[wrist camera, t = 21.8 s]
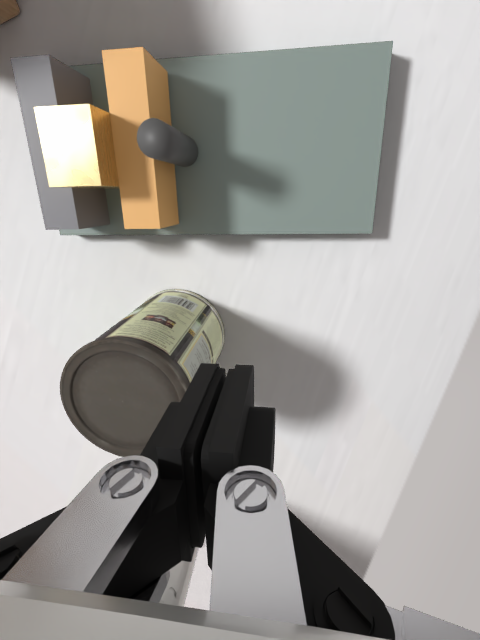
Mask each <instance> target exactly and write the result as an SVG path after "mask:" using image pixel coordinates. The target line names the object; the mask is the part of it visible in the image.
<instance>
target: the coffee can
mask: <svg viewBox="0 0 480 640" xmlns="http://www.w3.org/2000/svg"><path fill="white" fill-rule="evenodd" d="M223 345H224V327H223V323H222V321H221V318H220V316H219V314H218V313H217V311H216V310H215V308H214V307H213V306H212V305H211V304H210V303H209V302H208V301H207V300H206V299H204V298H203V297H202V296H199V295H197V294H195V293H193V292H190V291H186V290H181V289H170V290H164V291H161V292H159V293H156V294H155V295H153V296H152V297H150V298H149V299H148V300H147V301H146V302H145V303H143V304H142V305H141V306H140V307H138V308H137V309H136V310H134V311H133V312H132V313H130V314H129V315H128V316H126V317H125V318H124V319H122V320H121V321H120V322H118V323H117V324H116V325H114V326H113V327H111V328H110V329H109V330H108V331H106V332H105V333H104V334H102V335H101V336H100V337H98V338H97V339H96V340H95V341H93V342H90V343H88V344H87V345H85V346H83V347H82V348H80V349H79V350H78V351H76V352H75V353H74V354H73V355H72V356H71V357H70V359H69V360H68V362H67V363H66V365H65V367H64V369H63V372H62V376H61V381H60V394H61V400H62V403H63V406H64V409H65V411H66V413H67V415H68V417H69V419H70V420H71V422H72V423H73V425H74V426H75V427H76V428H77V430H78V431H79V432H80V433H81V434H82V435H83V436H84V437H85V438H87V439H88V440H89V441H90V442H92V443H93V444H95V445H96V446H98V447H99V448H101V449H103V450H105V451H107V452H110V453H112V454H115V455H118V456H122V457H126V456H133V455H136V456H140V454H141V452H142V451H143V449H144V447H145V446H146V444H147V442H148V440H149V439H150V437H151V435H152V433H153V432H154V430H155V428H156V427H157V425H158V423H159V421H160V420H161V418H162V416H163V415H164V413H165V411H166V409H167V408H168V406H169V404H170V403H171V402H180V401H181V400H182V398H183V396H184V394H185V392H186V390H187V388H188V386H189V385H190V383H191V381H192V379H193V377H194V375H195V373H196V371H197V370H198V368H199V366H200V364H201V363H211V364H215V363H216V361H217V358H218V357H219V355H220V353H221V351H222V348H223Z"/></svg>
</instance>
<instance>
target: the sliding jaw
mask: <svg viewBox="0 0 480 640" xmlns="http://www.w3.org/2000/svg"><path fill="white" fill-rule="evenodd" d="M102 58H103V65H104V73H105V81H106V88H107V96H108V104H109V112H110V119H111V127H112V135H113V143H114V150H115V158H116V166H117V174H118V181H119V189H120V197H121V204H122V212H123V220H124V228H125V229H161V228H165V227H169V226H173V225H177V224H179V216H178V203H177V190H176V177H175V165H179V166H182V167H188V166H191V165H192V164H194V163H195V161H196V160H197V157H198V147H197V144H196V142H195V141H194V140H193V139H192V138H191V137H189V136H187V135H185V134H184V133H182V132H180V131H179V130H177V129H175V128H174V127H172V125H171V112H170V99H169V86H168V73H167V71H166V70H165V69H164V68H163V67H162V66H161V65H160V64H159V63H158V62H157V61H156V60H155V59H154V58H153V57H152V56H151V55H150V54H149V53H148V52H147V51H146V50H145V49H144V48H143V47H135V48H123V49H111V50H102Z"/></svg>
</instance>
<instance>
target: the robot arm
mask: <svg viewBox="0 0 480 640" xmlns="http://www.w3.org/2000/svg"><path fill="white" fill-rule="evenodd" d="M274 444H275V408H268V407H254V366H253V365H236V366H235V369H229V371H228V374H227V376H226V375H225V369H222V368H220V367H219V364H211V363H201V364H200V366H199V368H198V370H197V371H196V373H195V375H194V377H193V379H192V381H191V383H190V385H189V386H188V388H187V390H186V392H185V394H184V396H183V398H182V400H181V401H180V402H171V403H170V404H169V406H168V408H167V409H166V411H165V413H164V415H163V416H162V418H161V420H160V421H159V423H158V425H157V427H156V428H155V430H154V432H153V433H152V435H151V437H150V439H149V440H148V442H147V444H146V446H145V447H144V449H143V451H142V452H141V454H140V456H136V455H133V456H126V457H122V458H119V459H116V460H114V461H112V462H110V463H109V464H107V465H105V466H104V467H103V468H102V469H101V470H100V471H99V472H98V473H97V474H96V475H95V476H94V477H93V478H92V479H91V481H90V482H89V483H88V484H87V485H86V486H85V487H84V488H83V489H82V491H81V492H80V493H79V494H78V495H77V496H76V497H75V498H74V499H73V501H72V502H71V503H70V504H69V505H68V506H67V507H65V508H63V509H61V510H59V511H57V512H55V513H52V514H50V515H48V516H46V517H44V518H42V519H40V520H38V521H36V522H34V523H32V524H30V525H28V526H26V527H24V528H22V529H20V530H18V531H15V532H13V533H11V534H9V535H7V536H5V537H3V538H1V539H0V640H480V634H479V633H476V632H473V631H471V630H468V629H465V628H463V627H460V626H458V625H455V624H452V623H449V622H447V621H444V620H441V619H439V618H436V617H433V616H430V615H428V614H425V613H422V612H420V611H417V610H414V609H412V608H409V607H406V606H404V607H403V612H402V611H399V610H396V609H394V608H391V607H388V606H386V605H385V604H384V602H383V601H382V600H381V599H380V598H379V596H378V595H377V594H376V593H375V592H374V591H373V590H372V589H371V588H370V587H369V586H368V585H367V584H366V583H365V582H364V581H363V580H362V579H361V578H360V577H359V576H358V575H357V574H356V573H355V572H354V571H353V570H352V569H350V568H349V567H348V566H347V565H346V564H345V563H344V562H343V561H342V560H341V559H340V558H339V557H338V556H337V555H336V554H335V553H334V552H333V551H332V550H331V549H329V548H328V547H327V546H326V545H325V544H324V543H323V542H322V541H321V540H320V539H319V538H318V537H317V536H316V535H315V534H314V533H313V532H312V531H311V530H310V529H309V528H307V527H306V526H305V525H304V524H303V523H302V522H301V521H300V520H299V519H298V518H297V517H296V516H295V515H294V514H293V513H292V512H291V511H290V510H289V509H288V508H287V503H286V497H285V491H284V487H283V485H282V482H281V480H280V479H279V478H278V477H277V475H276V474H274V473H273V464H274ZM205 535H206V543H207V557H208V565H209V567H210V568H211V570H212V579H211V595H210V611H208V610H201V609H195V608H188V607H184V603H185V600H186V596H187V592H188V588H189V584H190V580H191V576H192V573H193V569H194V565H195V561H196V557H197V553H198V549H199V548H201V547H202V546H203V543H204V539H205Z"/></svg>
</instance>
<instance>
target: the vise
mask: <svg viewBox="0 0 480 640" xmlns="http://www.w3.org/2000/svg"><path fill="white" fill-rule="evenodd" d="M392 47H393V41H385V42H372V43H359V44H346V45H333V46H320V47H307V48H295V49H282V50H269V51H256V52H243V53H230V54H217V55H204V56H191V57H178V58H166V59H155V60H156V61H157V62H158V63H159V64H160V65H161V66H162V67H163V68H164V69H165V70H166V71H167V73H168V86H169V99H170V112H171V125H172V127H174V128H175V129H177V130H179V131H180V132H182V133H184V134H185V135H187V136H189V137H191V138H192V139H193V140H194V141H195V142H196V144H197V147H198V157H197V160H196V161H195V163H194V164H192V165H191V166H188V167H182V166H179V165H175V177H176V190H177V203H178V216H179V224H177V225H173V226H169V227H165V228H161V229H125V228H124V220H123V212H122V204H121V197H120V189H92V188H64V187H49V182H48V177H47V172H46V167H45V161H44V156H43V151H42V146H41V141H40V136H39V130H38V125H37V120H36V115H35V110H34V107H45V106H61V105H78V104H91V105H93V106H95V107H97V108H100V109H102V110H104V111H106V112H108V113H110V112H109V104H108V96H107V88H106V81H105V73H104V65H103V63H101V64H88V65H75V66H67V65H65V64H64V63H62V62H60V61H59V60H57V59H55V58H53V57H52V56H50V55H38V56H26V57H14V58H11V63H12V68H13V73H14V78H15V82H16V87H17V92H18V97H19V102H20V107H21V112H22V117H23V121H24V126H25V131H26V136H27V141H28V146H29V151H30V155H31V160H32V165H33V170H34V175H35V180H36V185H37V190H38V194H39V199H40V204H41V209H42V214H43V219H44V224H45V228H46V230H57V229H59V231H60V235H189V234H372V230H373V221H374V211H375V202H376V193H377V184H378V175H379V166H380V156H381V147H382V138H383V129H384V120H385V111H386V102H387V92H388V83H389V74H390V65H391V56H392Z"/></svg>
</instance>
